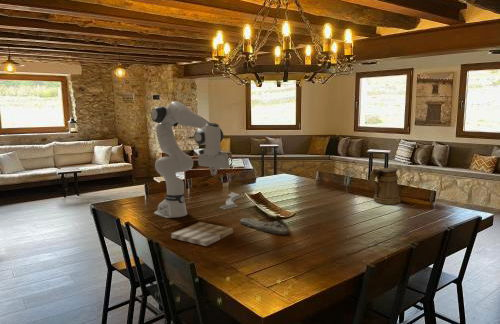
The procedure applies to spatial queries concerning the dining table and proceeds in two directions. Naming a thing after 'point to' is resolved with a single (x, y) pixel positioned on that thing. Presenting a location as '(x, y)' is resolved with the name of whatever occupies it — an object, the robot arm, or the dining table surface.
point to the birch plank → (195, 236)
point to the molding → (231, 201)
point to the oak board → (212, 229)
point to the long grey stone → (265, 226)
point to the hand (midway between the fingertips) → (213, 174)
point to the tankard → (385, 186)
